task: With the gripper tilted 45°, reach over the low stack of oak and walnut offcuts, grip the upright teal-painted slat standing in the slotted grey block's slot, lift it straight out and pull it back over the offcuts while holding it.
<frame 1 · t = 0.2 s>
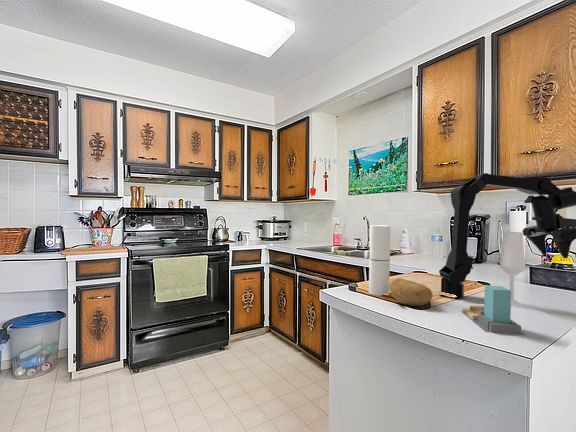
hand: (554, 256, 106), 15 cm above the table, tool pointing down, fingers open, 9 cm apart
teal slat: (496, 326, 78), point 1 cm above the table, touching slotted grey block
potato: (409, 306, 98), on the table
champagne flute: (511, 305, 100), on the table
slotted grey block: (496, 330, 78), on the table
offcut stack: (482, 312, 85), point 2 cm above the table
cylindrical container: (378, 293, 112), on the table
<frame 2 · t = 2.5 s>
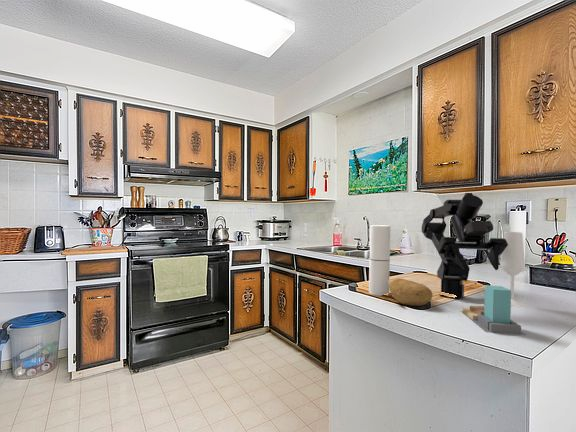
hand: (480, 268, 89), 14 cm above the table, tool tilted 45°, fingers open, 9 cm apart
nothing on the table moved.
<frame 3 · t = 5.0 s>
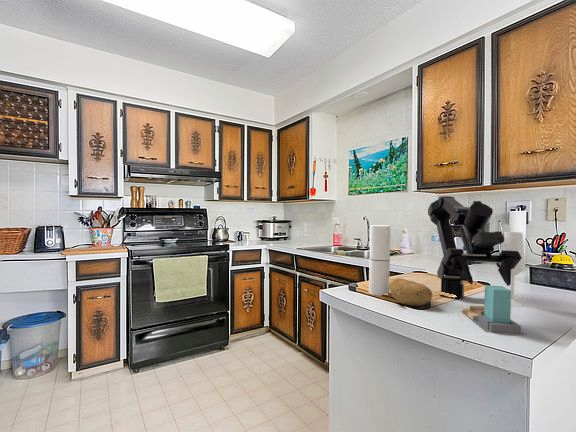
hand: (490, 284, 82), 11 cm above the table, tool tilted 45°, fingers open, 9 cm apart
nothing on the table moved.
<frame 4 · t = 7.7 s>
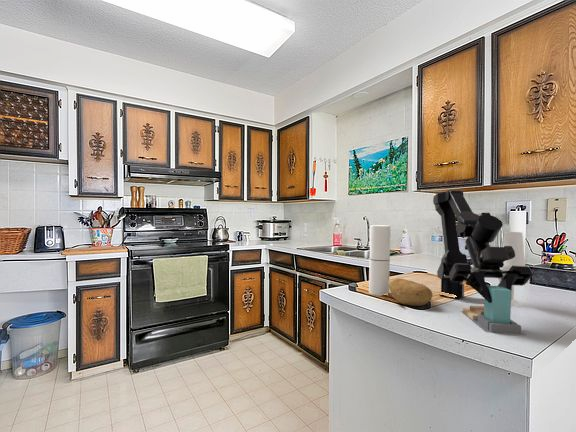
hand: (500, 302, 77), 8 cm above the table, tool tilted 45°, fingers closed on teal slat, 4 cm apart
teal slat: (496, 326, 78), point 1 cm above the table, touching slotted grey block, gripper
everything else where it was.
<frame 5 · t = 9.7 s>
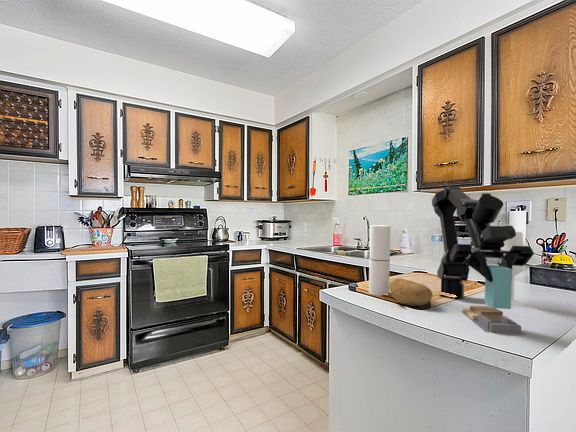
hand: (500, 281, 76), 13 cm above the table, tool tilted 45°, fingers closed on teal slat, 4 cm apart
teal slat: (497, 305, 78), point 6 cm above the table, touching gripper
everything else where it was.
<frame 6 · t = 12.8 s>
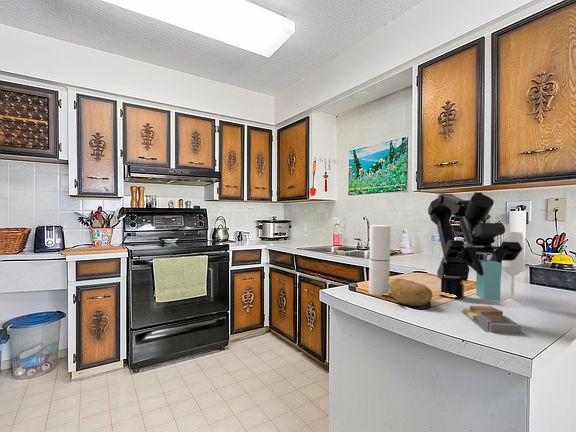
hand: (490, 275, 81), 14 cm above the table, tool tilted 45°, fingers closed on teal slat, 4 cm apart
teal slat: (487, 297, 83), point 7 cm above the table, touching gripper
everything else where it was.
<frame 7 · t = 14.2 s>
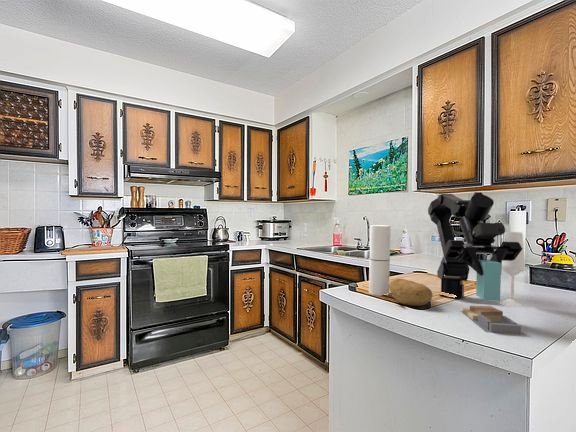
hand: (490, 275, 81), 14 cm above the table, tool tilted 45°, fingers closed on teal slat, 4 cm apart
teal slat: (487, 297, 83), point 7 cm above the table, touching gripper
everything else where it was.
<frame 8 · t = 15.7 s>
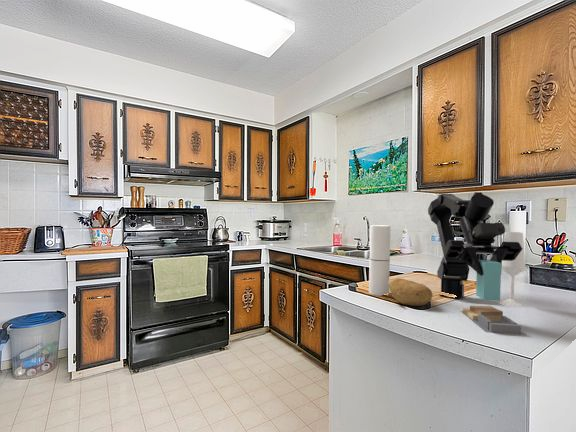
hand: (490, 275, 81), 14 cm above the table, tool tilted 45°, fingers closed on teal slat, 4 cm apart
teal slat: (487, 297, 83), point 7 cm above the table, touching gripper
everything else where it was.
at the end: the gripper is holding teal slat; teal slat point 7.0 cm above the table; teal slat moved 7.8 cm from its start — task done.
